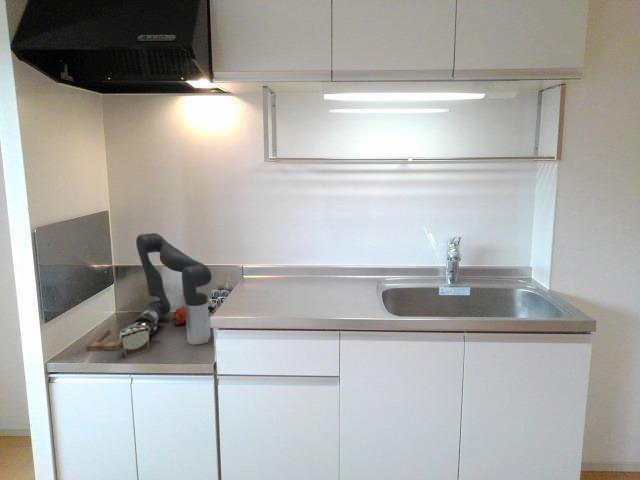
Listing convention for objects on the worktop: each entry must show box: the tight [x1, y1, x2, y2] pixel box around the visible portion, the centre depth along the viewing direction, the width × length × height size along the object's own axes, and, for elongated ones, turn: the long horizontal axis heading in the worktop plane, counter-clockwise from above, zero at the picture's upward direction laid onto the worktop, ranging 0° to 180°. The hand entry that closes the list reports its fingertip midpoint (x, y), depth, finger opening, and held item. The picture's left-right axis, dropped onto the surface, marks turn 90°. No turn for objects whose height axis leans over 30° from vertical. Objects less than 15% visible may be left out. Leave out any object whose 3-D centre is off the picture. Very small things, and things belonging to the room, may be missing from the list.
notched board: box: [85, 328, 123, 352], centre depth 189 cm, size 12×18×2 cm
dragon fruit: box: [172, 306, 186, 326], centre depth 209 cm, size 8×8×12 cm
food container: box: [118, 325, 151, 358], centre depth 179 cm, size 12×6×10 cm, turn 138°
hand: (132, 336), depth 179 cm, fingers open, 5 cm apart
